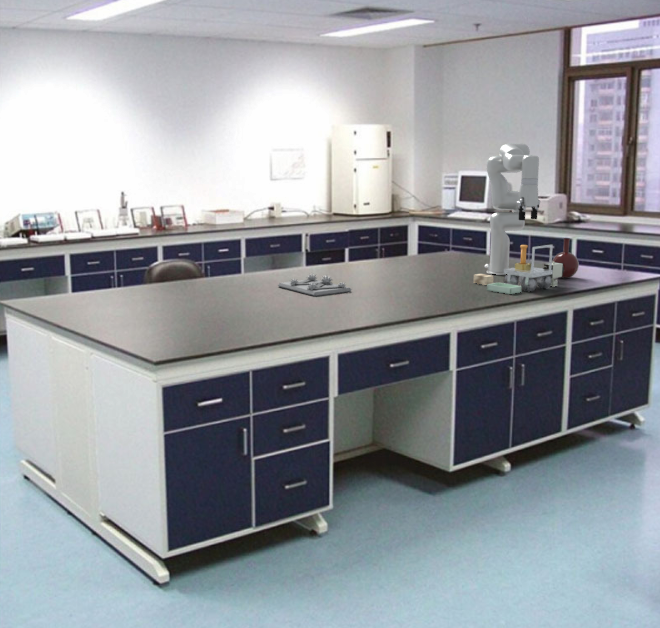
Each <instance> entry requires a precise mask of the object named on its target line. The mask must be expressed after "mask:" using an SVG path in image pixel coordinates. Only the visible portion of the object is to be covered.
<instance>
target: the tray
mask: <svg viewBox="0 0 660 628" xmlns="http://www.w3.org/2000/svg"><path fill="white" fill-rule="evenodd" d="M522 290H523V288H522V286H521V285H511V284H505V283H504V282H499V281H498V282H493V283H492V284H487V286H486V291H487V292H491V291H493V293H497V292H499V293H498V294H503V293H505V295H509V294H512V295H516V294H515V293H517V294H521V293H522ZM520 292H521V293H520Z"/></svg>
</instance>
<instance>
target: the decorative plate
mask: <svg viewBox="0 0 660 628" xmlns="http://www.w3.org/2000/svg"><path fill="white" fill-rule="evenodd" d="M321 276H322V277H320V278H319V279H318V276H317V274H314V273H311V274H310V273H308V275H307V276H306V277H305V278H306V279H301V280H298V279H296V278H292V279H291V278H290V281H285V282H284V281H283V282H279V283H278V284H277V286H278V287H279V288H281V289H285V290H289V291H293V292H296V293H300V294H305V295H308V296H312V297H323V296H331V295H337V294H345V293H350V292H352V288H351V287H349V286H347V284H346V283H345V282H343V281H341V282H338V283H333V281H334V279H332V276H331V275H328V274H325V275H321Z"/></svg>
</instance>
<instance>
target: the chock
mask: <svg viewBox="0 0 660 628" xmlns="http://www.w3.org/2000/svg"><path fill="white" fill-rule="evenodd" d="M473 283H477V284H476V285H479V284H482V285H481V286H484V285H487V284H492V283H494V275H492V274H485V273H476V274H473Z"/></svg>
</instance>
